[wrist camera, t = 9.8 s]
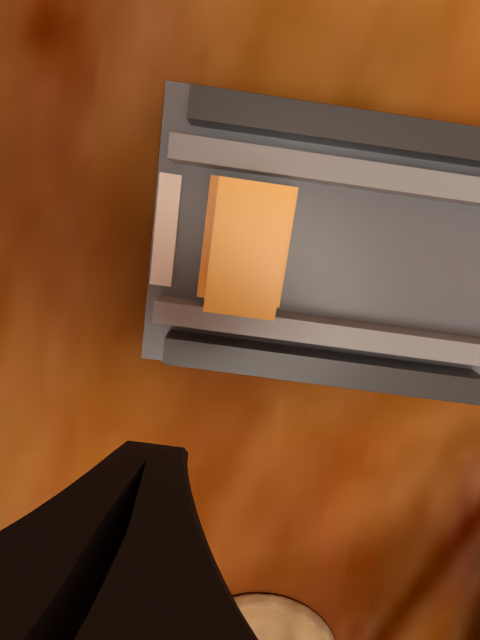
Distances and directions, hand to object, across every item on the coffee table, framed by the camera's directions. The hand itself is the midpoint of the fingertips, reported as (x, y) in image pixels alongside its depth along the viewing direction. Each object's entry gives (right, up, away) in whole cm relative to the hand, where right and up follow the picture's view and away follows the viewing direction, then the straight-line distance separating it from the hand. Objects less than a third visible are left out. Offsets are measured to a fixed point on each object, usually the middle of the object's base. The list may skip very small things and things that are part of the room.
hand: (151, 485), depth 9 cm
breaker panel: (+6, +6, +8) cm, 12 cm away
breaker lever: (+2, +6, +6) cm, 9 cm away
